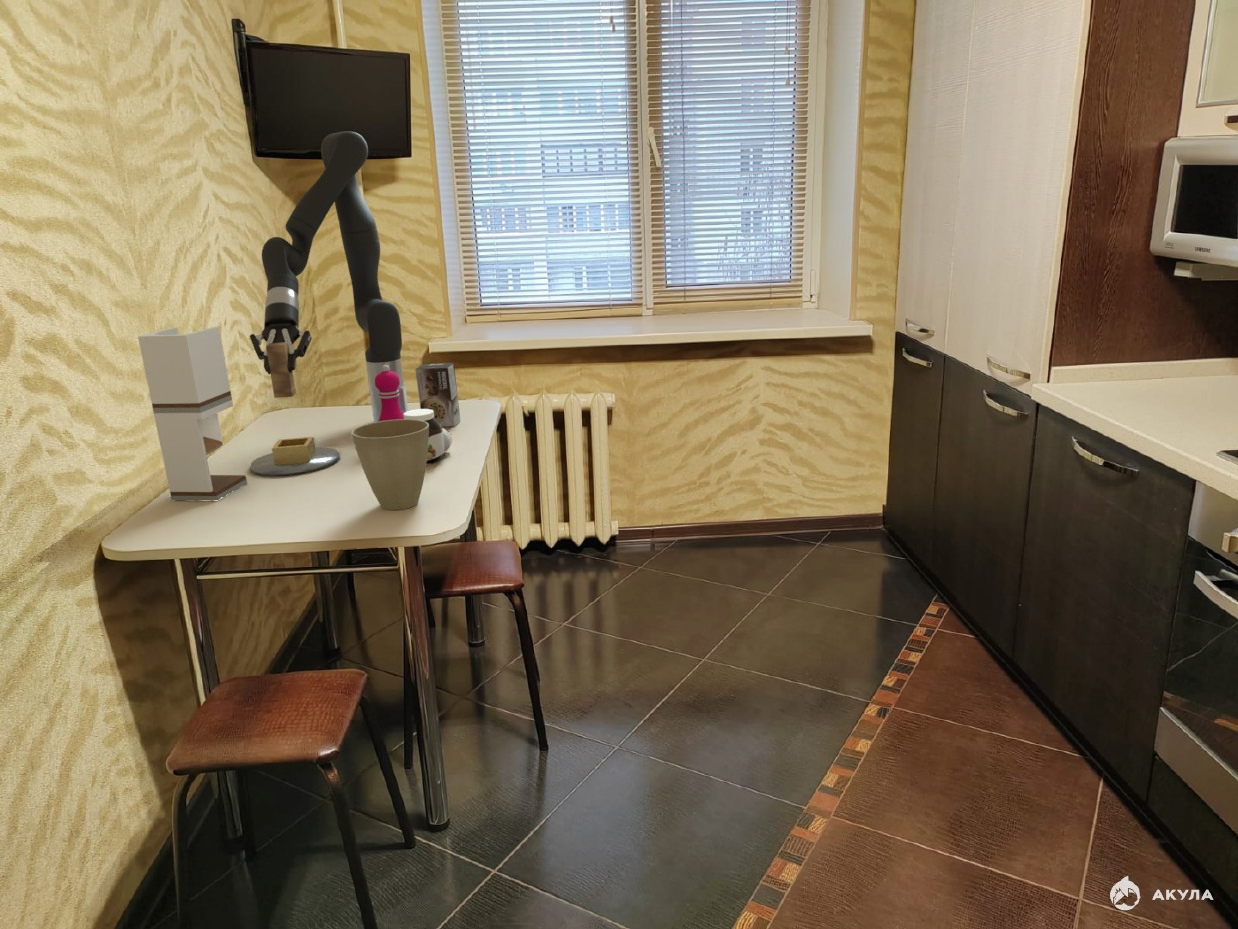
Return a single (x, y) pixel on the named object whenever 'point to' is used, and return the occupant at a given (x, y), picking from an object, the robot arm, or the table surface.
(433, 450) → the spread jar
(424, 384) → the coffee box
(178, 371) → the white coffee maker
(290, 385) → the tall tan wooden block
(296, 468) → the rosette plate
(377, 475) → the plant pot
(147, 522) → the table surface
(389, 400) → the pepper mill
